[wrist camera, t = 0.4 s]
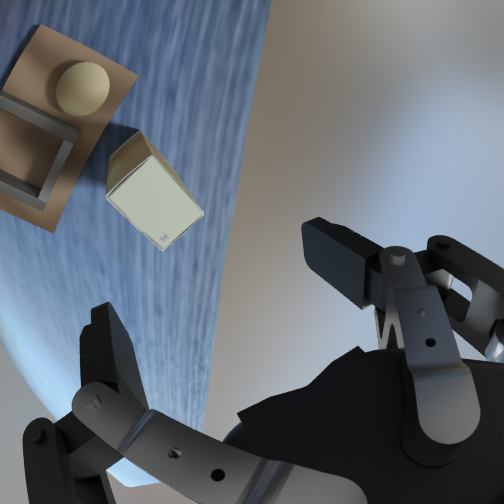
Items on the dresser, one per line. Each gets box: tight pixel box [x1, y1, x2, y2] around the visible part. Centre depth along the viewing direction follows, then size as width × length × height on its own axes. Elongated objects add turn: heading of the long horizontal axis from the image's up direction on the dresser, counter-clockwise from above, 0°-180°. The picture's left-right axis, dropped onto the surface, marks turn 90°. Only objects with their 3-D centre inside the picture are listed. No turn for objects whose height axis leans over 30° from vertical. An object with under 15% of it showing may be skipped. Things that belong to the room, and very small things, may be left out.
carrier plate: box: [0, 24, 139, 233], centre depth 21 cm, size 18×12×4 cm, turn 141°
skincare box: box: [106, 130, 204, 251], centre depth 25 cm, size 6×4×12 cm
